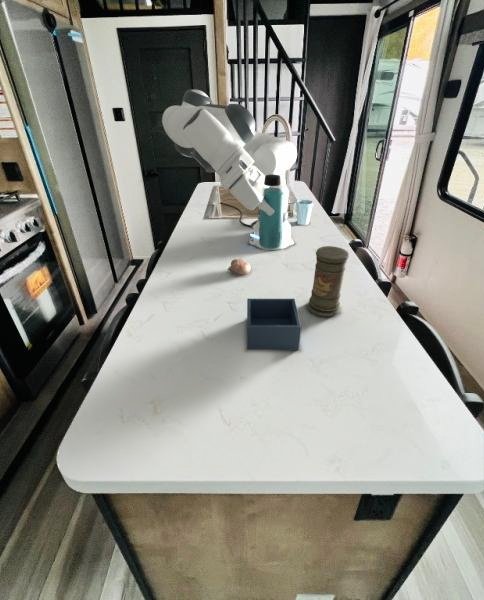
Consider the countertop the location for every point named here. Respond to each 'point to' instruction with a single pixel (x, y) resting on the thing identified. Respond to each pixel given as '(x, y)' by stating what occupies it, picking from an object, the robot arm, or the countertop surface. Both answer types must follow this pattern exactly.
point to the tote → (272, 324)
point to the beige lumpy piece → (239, 267)
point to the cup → (303, 211)
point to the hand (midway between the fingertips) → (274, 209)
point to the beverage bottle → (272, 224)
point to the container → (328, 281)
